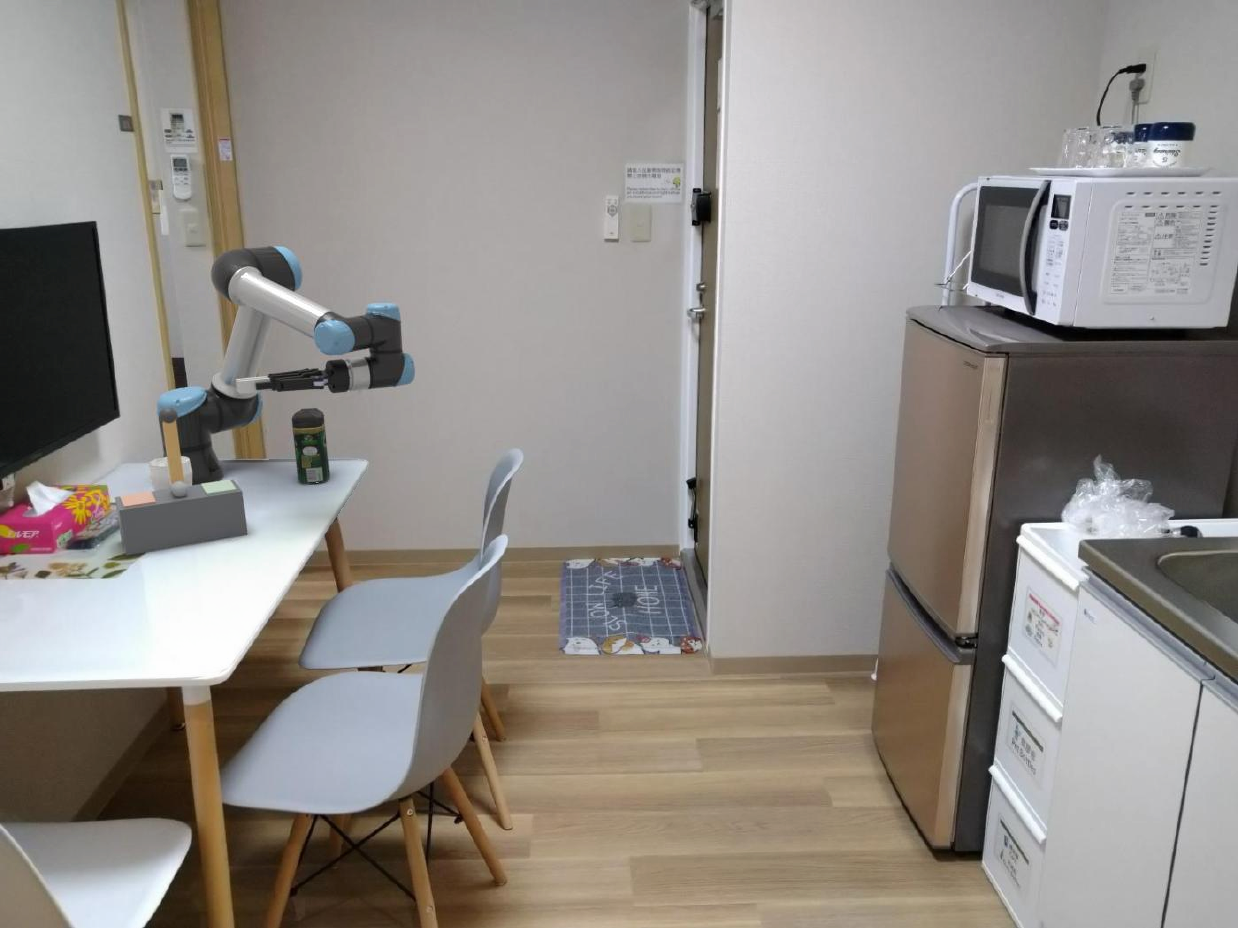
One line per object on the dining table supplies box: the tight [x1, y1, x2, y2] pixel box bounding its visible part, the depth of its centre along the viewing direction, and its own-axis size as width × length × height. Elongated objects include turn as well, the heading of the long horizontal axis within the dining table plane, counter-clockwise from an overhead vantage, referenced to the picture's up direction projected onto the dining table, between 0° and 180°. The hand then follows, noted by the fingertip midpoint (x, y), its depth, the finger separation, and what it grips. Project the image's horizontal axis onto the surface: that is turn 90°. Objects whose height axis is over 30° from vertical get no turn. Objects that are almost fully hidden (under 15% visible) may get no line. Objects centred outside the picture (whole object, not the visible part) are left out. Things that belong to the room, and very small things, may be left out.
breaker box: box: [114, 479, 248, 557], centre depth 205 cm, size 10×24×10 cm, turn 122°
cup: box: [148, 456, 192, 491], centre depth 223 cm, size 9×9×12 cm
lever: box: [158, 407, 188, 497], centre depth 201 cm, size 6×4×19 cm, turn 32°
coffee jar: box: [291, 407, 331, 484], centre depth 245 cm, size 10×8×19 cm
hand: (238, 386), depth 205 cm, fingers closed
